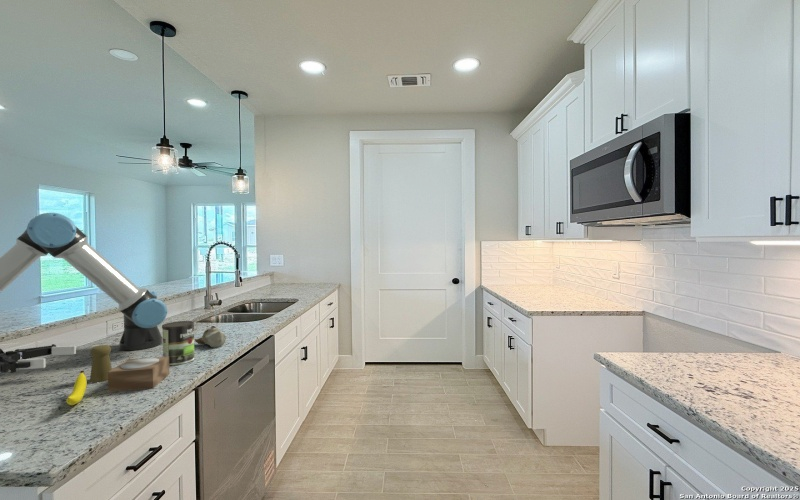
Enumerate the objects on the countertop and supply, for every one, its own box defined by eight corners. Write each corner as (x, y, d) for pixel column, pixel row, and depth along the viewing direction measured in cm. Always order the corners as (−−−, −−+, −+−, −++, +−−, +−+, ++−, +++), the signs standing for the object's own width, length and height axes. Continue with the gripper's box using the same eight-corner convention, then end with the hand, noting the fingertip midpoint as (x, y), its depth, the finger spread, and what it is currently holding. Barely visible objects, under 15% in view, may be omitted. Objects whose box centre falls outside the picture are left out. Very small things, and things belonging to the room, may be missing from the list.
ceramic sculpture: (205, 329, 146) (192, 326, 156) (206, 351, 146) (193, 346, 156) (232, 325, 154) (218, 322, 164) (233, 345, 154) (218, 341, 164)
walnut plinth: (129, 377, 119) (128, 358, 119) (169, 373, 122) (169, 355, 122) (108, 391, 108) (107, 371, 107) (153, 388, 110) (152, 367, 110)
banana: (61, 418, 92) (60, 394, 91) (76, 392, 107) (75, 371, 107) (76, 415, 93) (75, 391, 93) (89, 390, 109) (88, 369, 109)
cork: (86, 384, 114) (85, 349, 113) (92, 377, 119) (91, 344, 119) (110, 380, 116) (109, 347, 116) (115, 374, 122) (114, 342, 121)
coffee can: (201, 357, 139) (200, 321, 139) (180, 366, 129) (179, 327, 129) (178, 355, 141) (177, 320, 141) (155, 364, 131) (154, 326, 131)
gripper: (13, 359, 123) (86, 355, 127) (-63, 388, 98) (29, 382, 103) (13, 337, 123) (85, 334, 127) (-64, 361, 98) (29, 356, 103)
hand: (60, 356), depth 115 cm, fingers open, 13 cm apart
